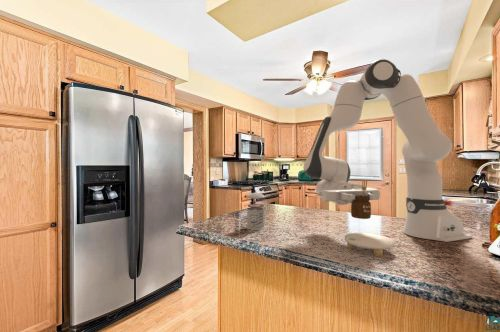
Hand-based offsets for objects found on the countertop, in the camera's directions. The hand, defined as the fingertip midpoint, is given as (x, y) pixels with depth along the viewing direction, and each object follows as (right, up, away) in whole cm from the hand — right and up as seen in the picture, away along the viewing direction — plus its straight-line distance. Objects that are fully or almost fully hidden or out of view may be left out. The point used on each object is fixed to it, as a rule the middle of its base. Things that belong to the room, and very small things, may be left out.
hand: (362, 197), depth 79 cm
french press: (-33, -17, +28) cm, 47 cm away
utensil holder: (0, -7, +1) cm, 7 cm away
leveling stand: (+1, -17, -1) cm, 17 cm away
